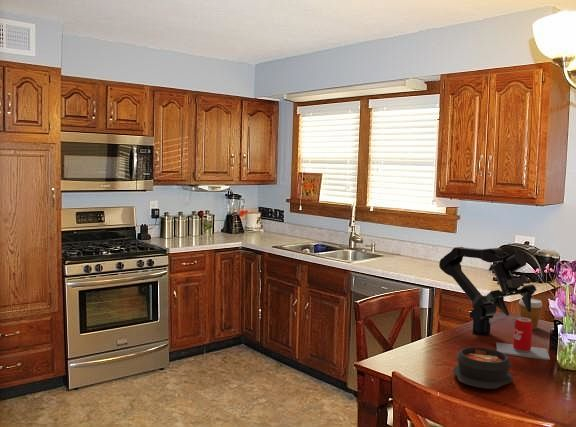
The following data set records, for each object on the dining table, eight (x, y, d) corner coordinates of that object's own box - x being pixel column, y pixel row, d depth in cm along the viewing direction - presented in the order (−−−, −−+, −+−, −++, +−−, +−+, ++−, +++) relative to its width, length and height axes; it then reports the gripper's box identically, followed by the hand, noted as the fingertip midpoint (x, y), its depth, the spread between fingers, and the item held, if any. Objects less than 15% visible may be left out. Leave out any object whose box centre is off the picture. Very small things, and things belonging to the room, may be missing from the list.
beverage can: (515, 346, 209) (517, 315, 208) (532, 349, 205) (534, 319, 204) (510, 350, 204) (512, 319, 203) (528, 354, 200) (530, 322, 199)
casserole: (460, 362, 192) (461, 339, 191) (516, 372, 183) (518, 348, 182) (444, 386, 170) (446, 360, 169) (508, 399, 161) (510, 372, 160)
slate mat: (496, 353, 202) (497, 351, 202) (496, 343, 213) (496, 342, 213) (549, 360, 196) (550, 358, 196) (546, 350, 207) (546, 348, 207)
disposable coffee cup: (540, 326, 240) (542, 299, 239) (540, 331, 231) (542, 304, 230) (517, 322, 244) (519, 296, 243) (516, 328, 235) (518, 301, 234)
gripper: (490, 272, 208) (505, 310, 200) (534, 265, 210) (551, 303, 203) (479, 283, 218) (493, 320, 210) (522, 276, 220) (537, 312, 213)
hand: (519, 313), depth 209 cm, fingers open, 9 cm apart
